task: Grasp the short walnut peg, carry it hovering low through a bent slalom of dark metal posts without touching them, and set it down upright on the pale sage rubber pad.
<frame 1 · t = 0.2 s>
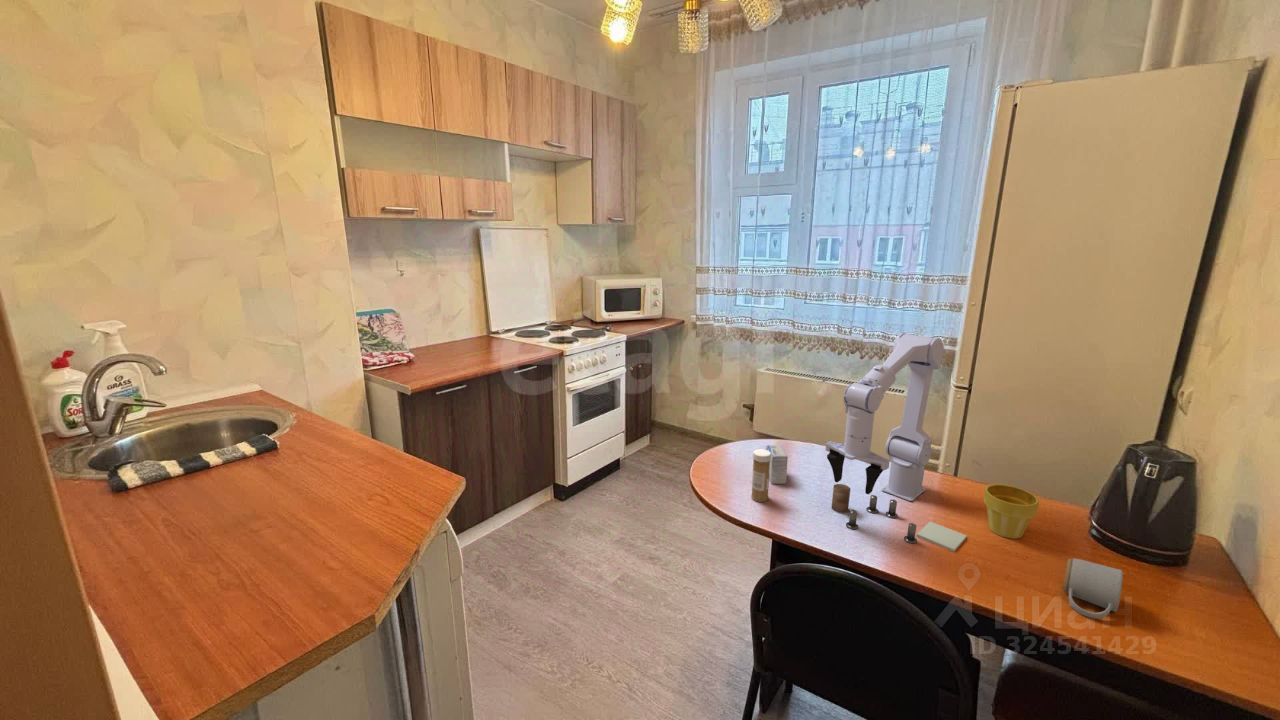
hand: (852, 486, 122), 10 cm above the table, tool pointing down, fingers open, 7 cm apart
medicine box: (775, 478, 148), on the table
walnut peg: (839, 508, 131), on the table
slalom posts: (902, 491, 139), on the table
ceramic mug: (1089, 604, 98), on the table
plant pot: (1004, 531, 121), on the table
sprinkles bottle: (759, 498, 137), on the table
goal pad: (941, 537, 119), on the table
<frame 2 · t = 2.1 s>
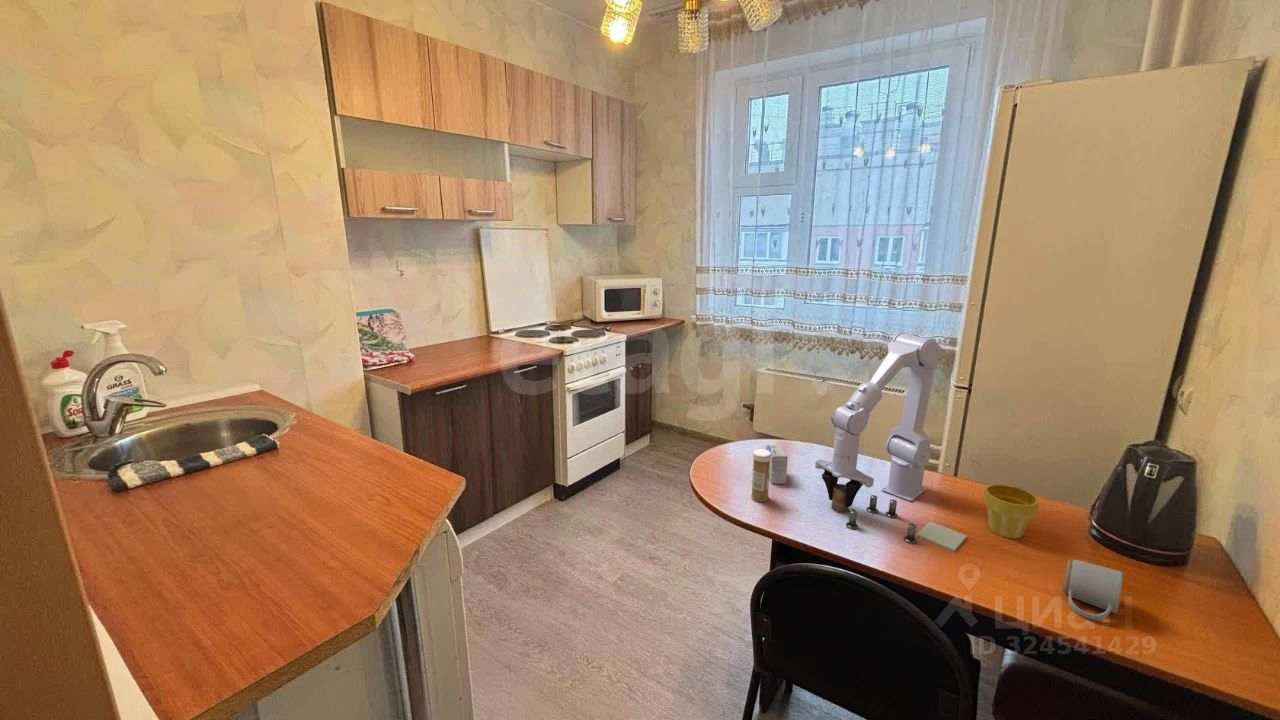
hand: (840, 502, 131), 2 cm above the table, tool pointing down, fingers closed on walnut peg, 4 cm apart
walnut peg: (839, 508, 131), on the table, touching gripper
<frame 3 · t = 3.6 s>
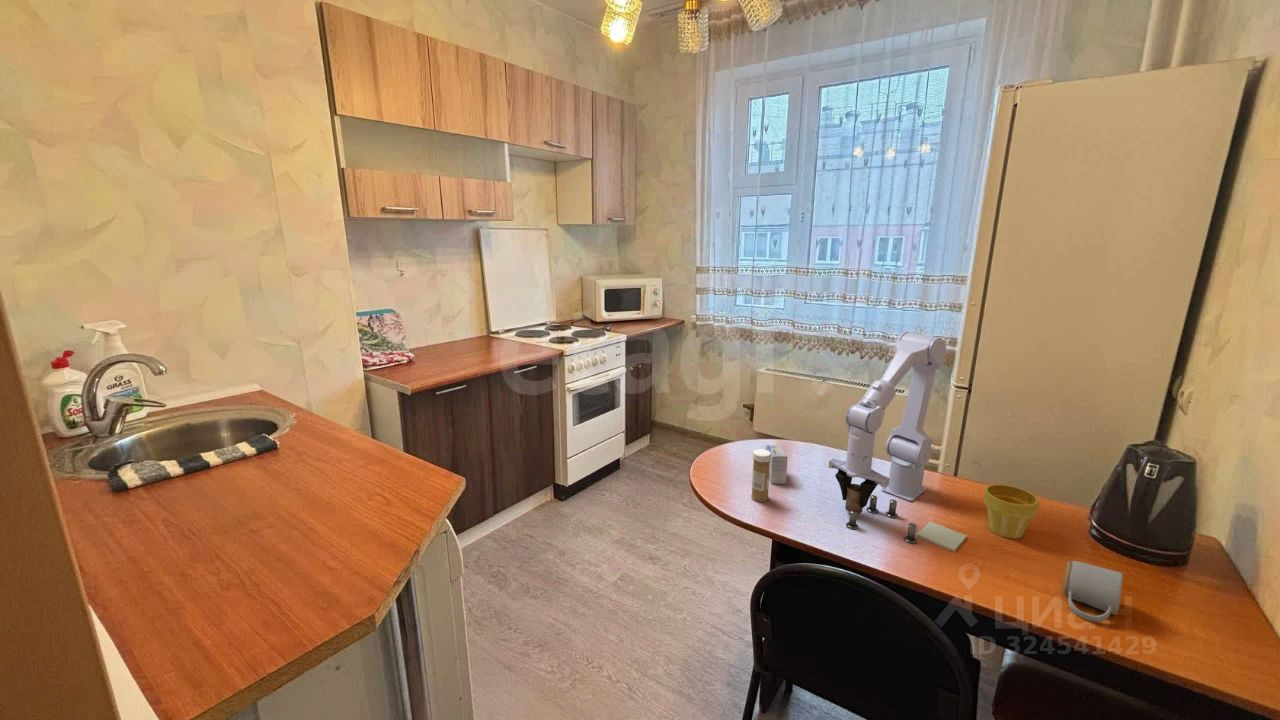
hand: (854, 502, 128), 3 cm above the table, tool pointing down, fingers closed on walnut peg, 4 cm apart
walnut peg: (853, 509, 128), point 1 cm above the table, touching gripper
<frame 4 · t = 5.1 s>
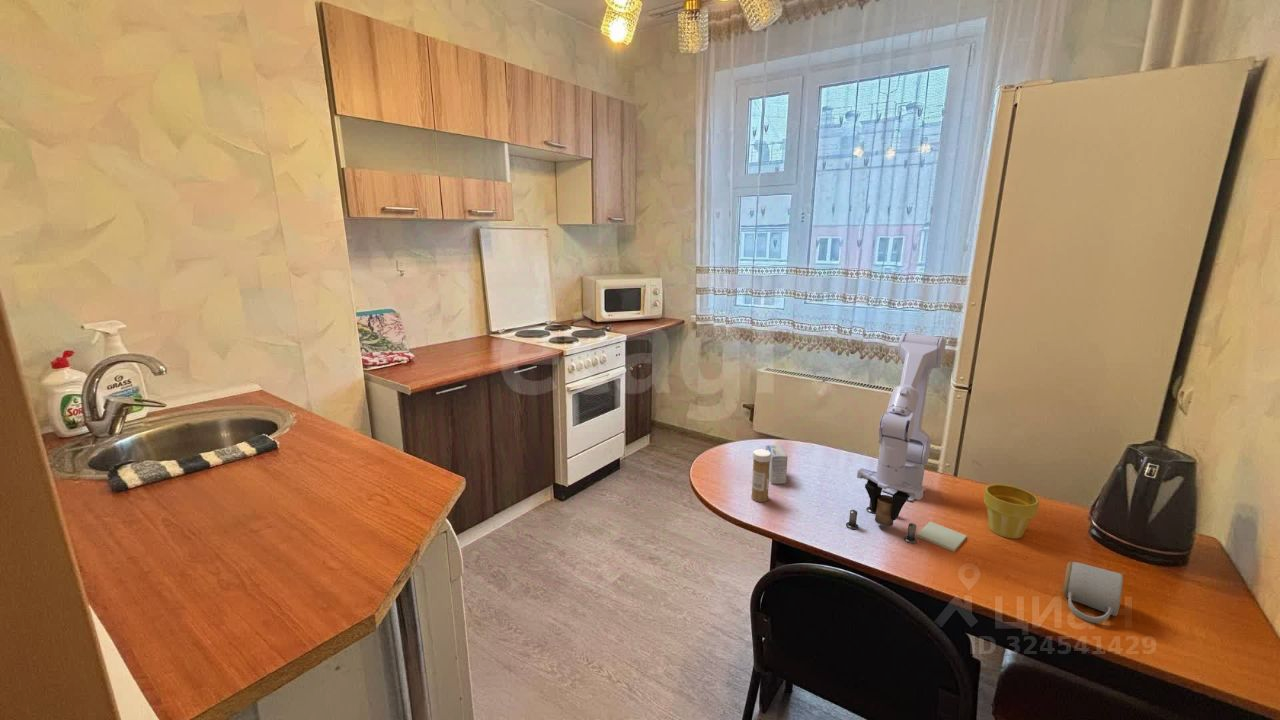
hand: (884, 514, 122), 3 cm above the table, tool pointing down, fingers closed on walnut peg, 4 cm apart
walnut peg: (883, 521, 123), point 1 cm above the table, touching gripper
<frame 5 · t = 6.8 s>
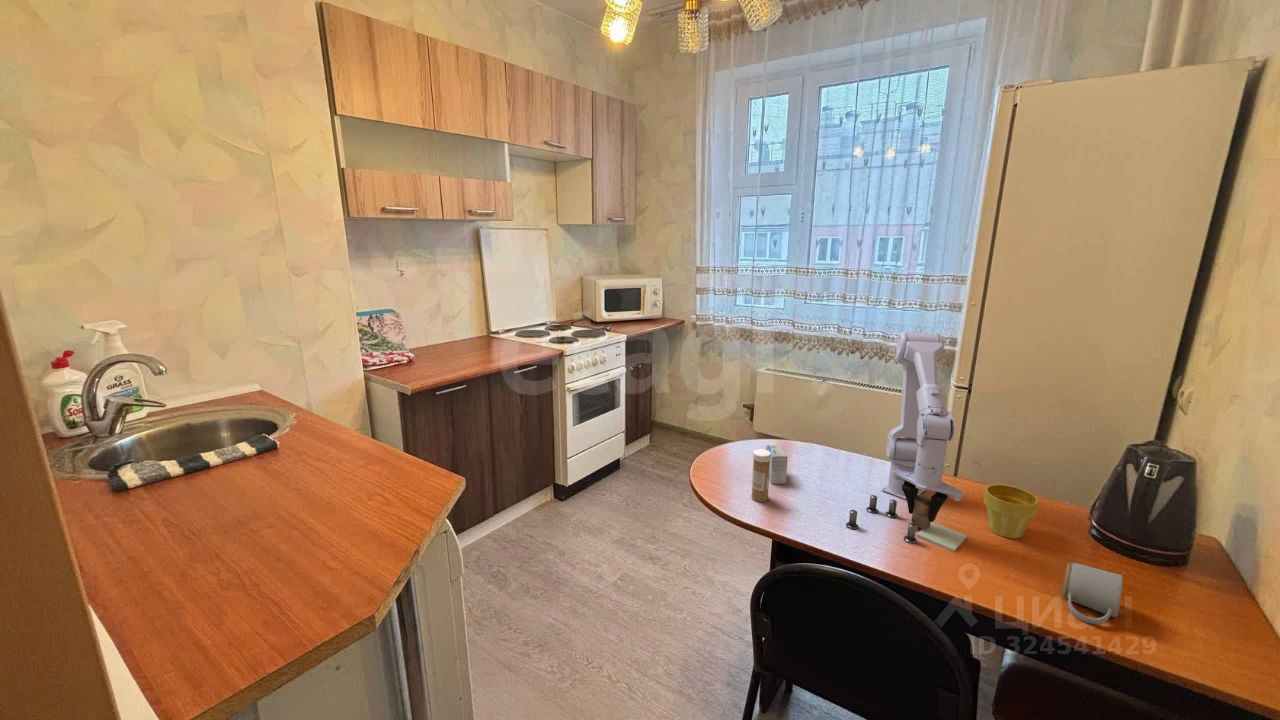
hand: (921, 515, 121), 3 cm above the table, tool pointing down, fingers closed on walnut peg, 4 cm apart
walnut peg: (920, 523, 122), point 1 cm above the table, touching gripper
when the fingers open (3 cm above the table, at t = 8.4 s): walnut peg stays where it is, resting on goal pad.
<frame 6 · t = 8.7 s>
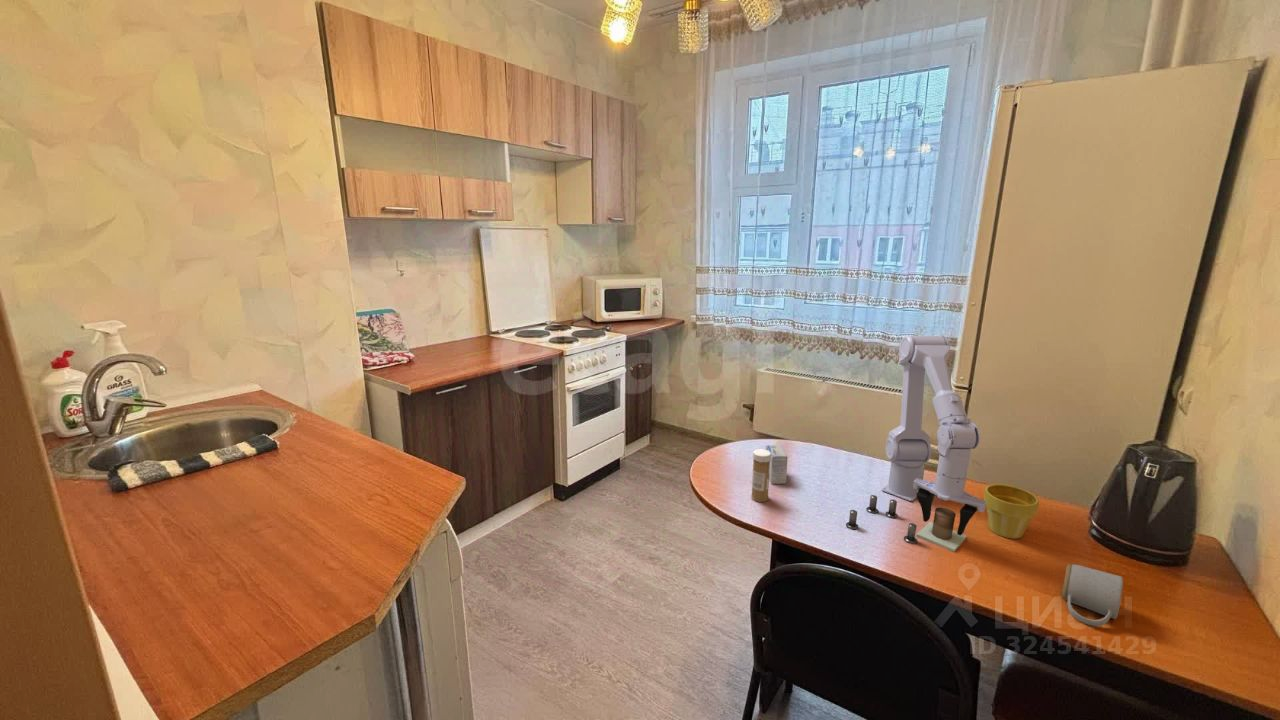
hand: (943, 526, 118), 3 cm above the table, tool pointing down, fingers open, 7 cm apart
walnut peg: (941, 534, 119), point 1 cm above the table, touching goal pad
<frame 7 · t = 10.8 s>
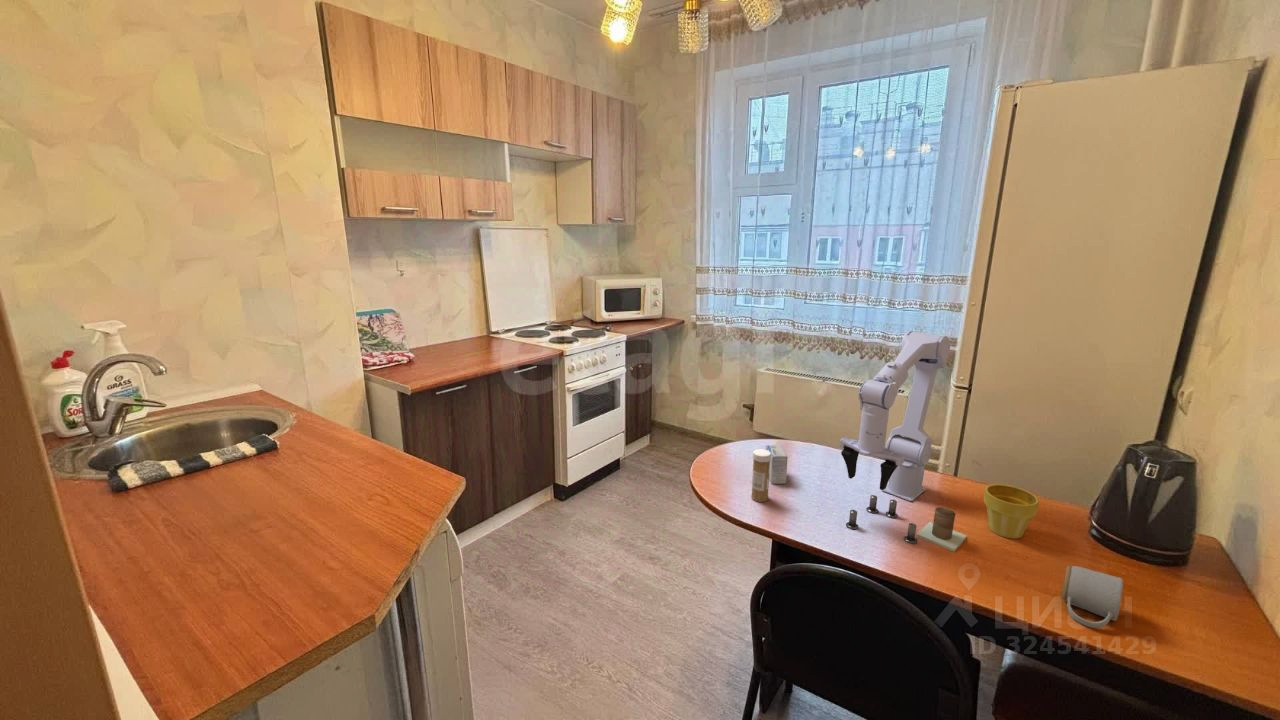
hand: (866, 482, 123), 10 cm above the table, tool pointing down, fingers open, 7 cm apart
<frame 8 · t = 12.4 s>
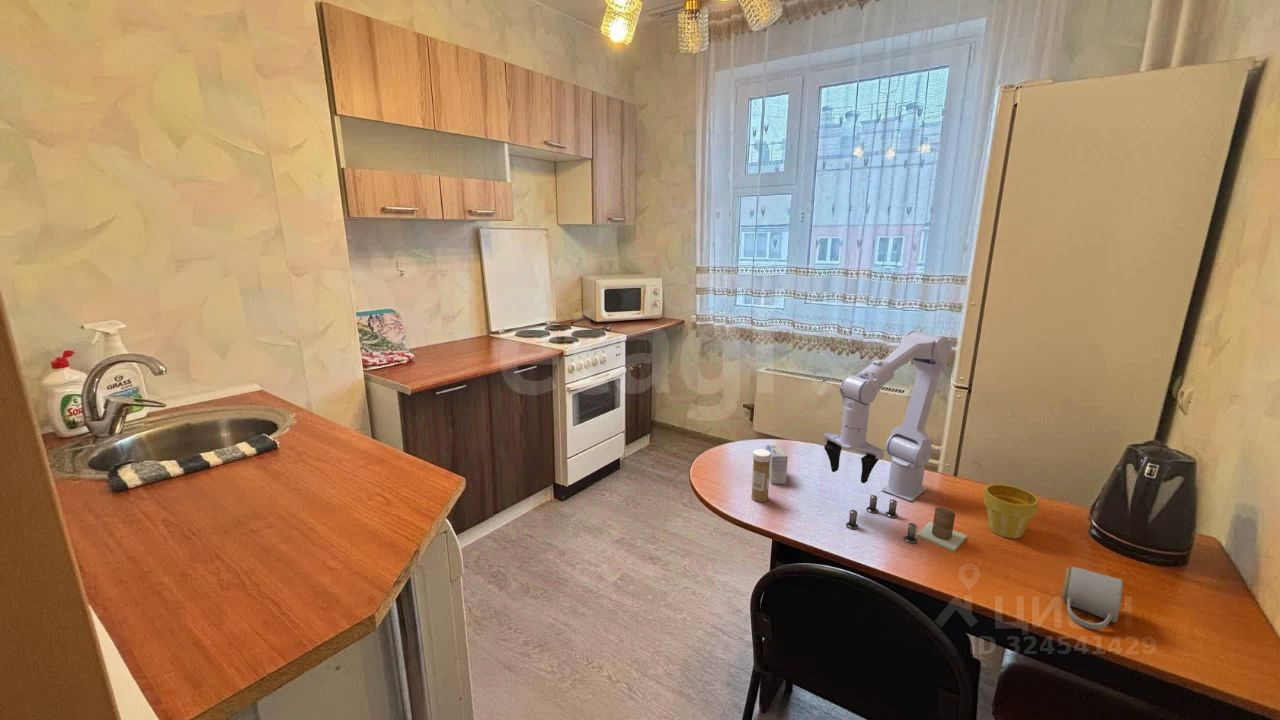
hand: (849, 476, 126), 10 cm above the table, tool pointing down, fingers open, 7 cm apart
at the end: walnut peg inside the target area on the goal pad (0.0 cm from its centre), point 0.6 cm above the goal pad's base; walnut peg tilted 1°; the gripper is holding nothing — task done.
